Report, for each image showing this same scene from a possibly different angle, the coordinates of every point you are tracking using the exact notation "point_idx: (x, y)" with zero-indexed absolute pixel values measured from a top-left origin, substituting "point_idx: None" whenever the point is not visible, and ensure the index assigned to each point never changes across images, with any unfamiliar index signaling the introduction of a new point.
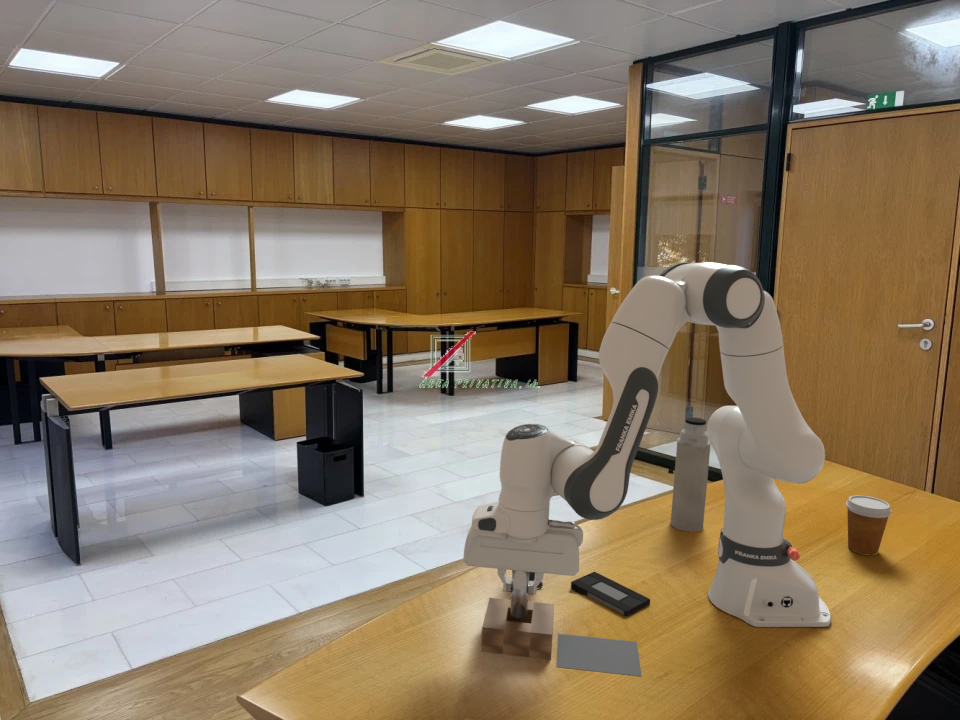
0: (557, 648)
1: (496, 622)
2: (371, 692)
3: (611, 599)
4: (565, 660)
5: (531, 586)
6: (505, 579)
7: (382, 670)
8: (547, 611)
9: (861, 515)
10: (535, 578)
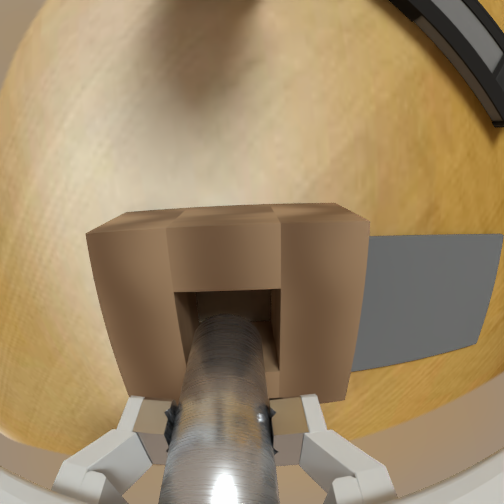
0: None
1: (162, 384)
2: (55, 433)
3: (480, 67)
4: (359, 348)
5: (290, 461)
6: (137, 472)
7: (34, 398)
8: (341, 286)
9: None
10: (319, 452)
